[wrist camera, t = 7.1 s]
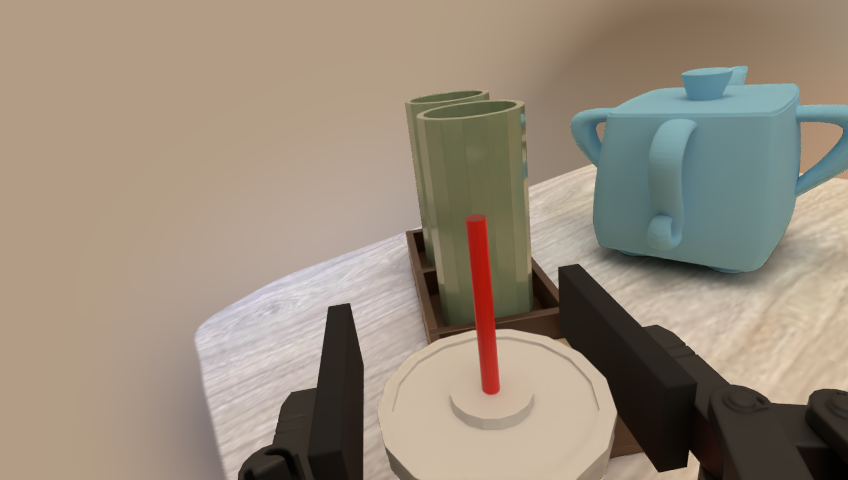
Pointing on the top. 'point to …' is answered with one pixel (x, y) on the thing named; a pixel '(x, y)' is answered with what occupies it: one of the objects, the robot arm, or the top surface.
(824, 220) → the top surface
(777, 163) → the teapot
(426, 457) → the beverage cup
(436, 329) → the cup rack
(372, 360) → the top surface
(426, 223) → the cup
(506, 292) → the cup
